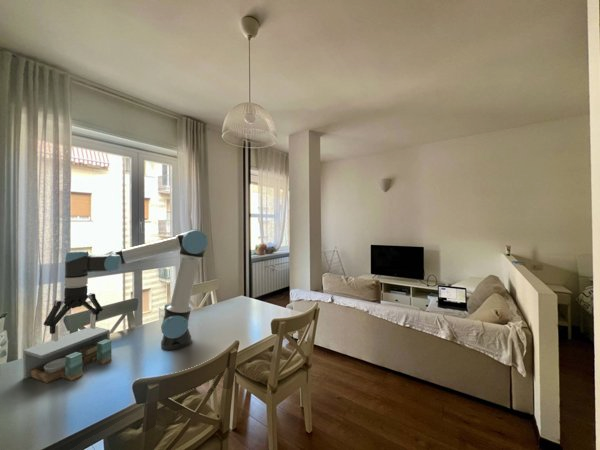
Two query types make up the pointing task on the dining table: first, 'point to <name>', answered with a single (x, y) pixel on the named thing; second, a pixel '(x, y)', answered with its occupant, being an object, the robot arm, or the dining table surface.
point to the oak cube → (88, 350)
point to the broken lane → (100, 353)
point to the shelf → (62, 347)
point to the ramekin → (54, 365)
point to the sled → (69, 371)
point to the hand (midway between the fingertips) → (74, 334)
